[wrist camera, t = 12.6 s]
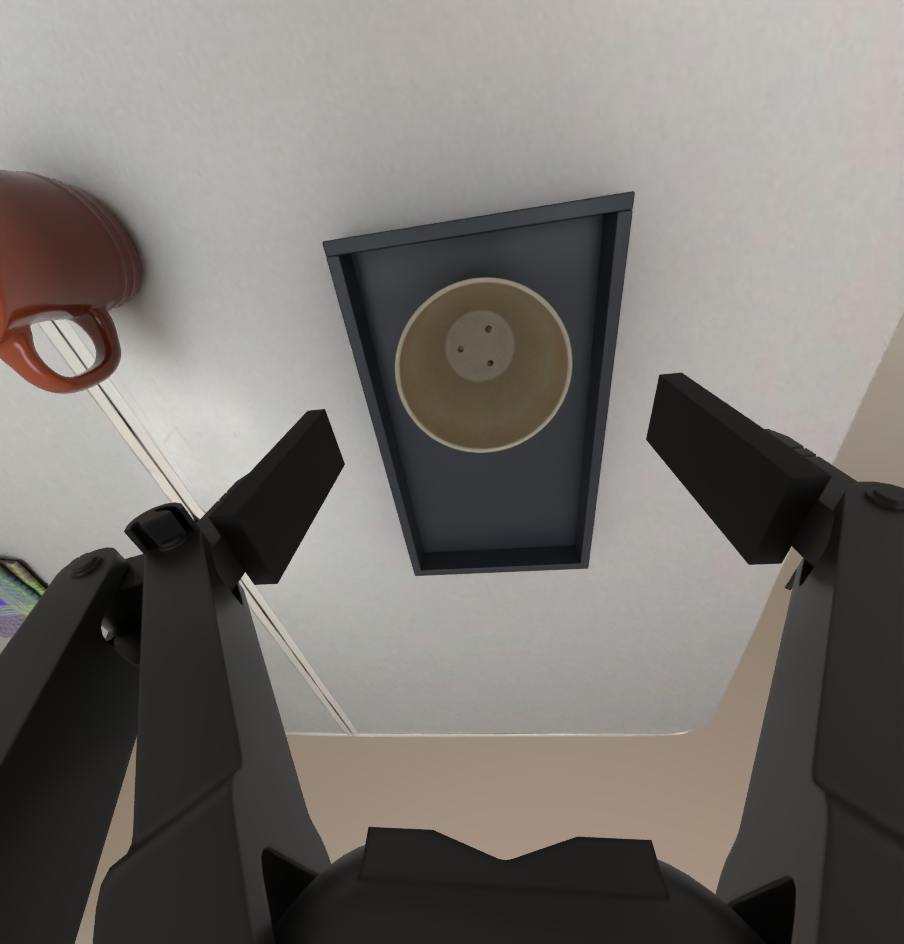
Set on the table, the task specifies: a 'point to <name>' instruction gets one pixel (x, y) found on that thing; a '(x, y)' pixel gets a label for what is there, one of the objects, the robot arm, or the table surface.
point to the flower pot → (483, 365)
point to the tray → (592, 343)
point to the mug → (60, 274)
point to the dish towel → (16, 596)
